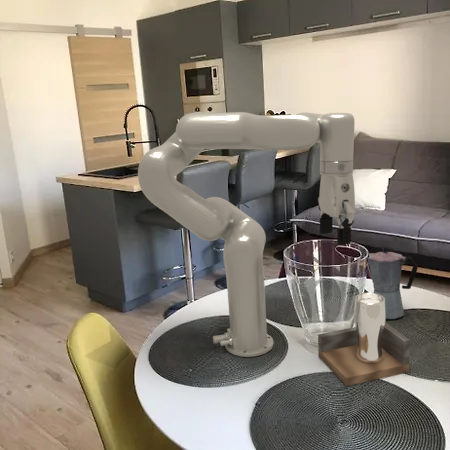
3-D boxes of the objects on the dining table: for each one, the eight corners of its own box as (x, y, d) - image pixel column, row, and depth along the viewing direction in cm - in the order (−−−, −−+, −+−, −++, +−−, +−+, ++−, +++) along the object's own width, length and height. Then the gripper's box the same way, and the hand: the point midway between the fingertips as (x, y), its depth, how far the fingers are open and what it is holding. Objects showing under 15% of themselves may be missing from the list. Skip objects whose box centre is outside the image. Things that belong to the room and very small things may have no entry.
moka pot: (369, 302, 155) (369, 239, 149) (421, 312, 146) (423, 246, 141) (357, 314, 147) (357, 249, 142) (411, 326, 138) (413, 256, 133)
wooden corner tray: (346, 386, 113) (346, 353, 111) (318, 356, 126) (317, 327, 124) (409, 371, 117) (410, 340, 115) (375, 344, 130) (376, 315, 128)
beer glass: (386, 365, 117) (387, 304, 113) (354, 363, 118) (354, 303, 114) (383, 350, 123) (384, 292, 119) (353, 349, 125) (353, 291, 121)
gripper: (369, 172, 111) (366, 247, 115) (334, 161, 127) (333, 227, 131) (338, 174, 109) (336, 250, 113) (306, 163, 125) (306, 230, 130)
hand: (334, 238), depth 122 cm, fingers open, 9 cm apart
